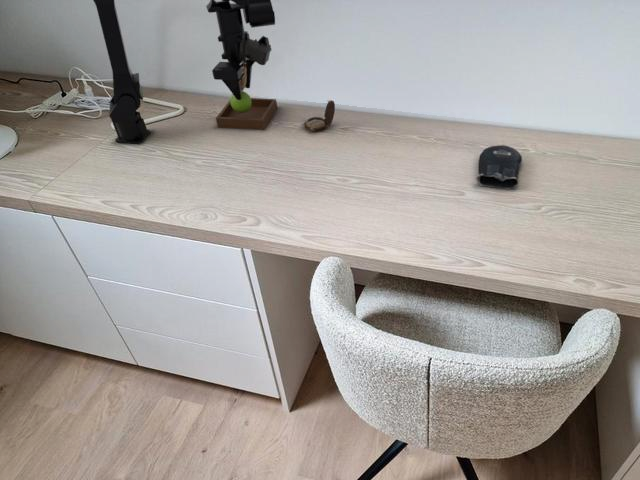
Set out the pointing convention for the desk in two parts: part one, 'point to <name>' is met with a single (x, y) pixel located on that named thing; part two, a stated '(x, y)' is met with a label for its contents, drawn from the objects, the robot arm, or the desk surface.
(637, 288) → the desk surface
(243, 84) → the green and brown figure
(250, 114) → the tray
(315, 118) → the compass
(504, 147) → the black beanie hat
